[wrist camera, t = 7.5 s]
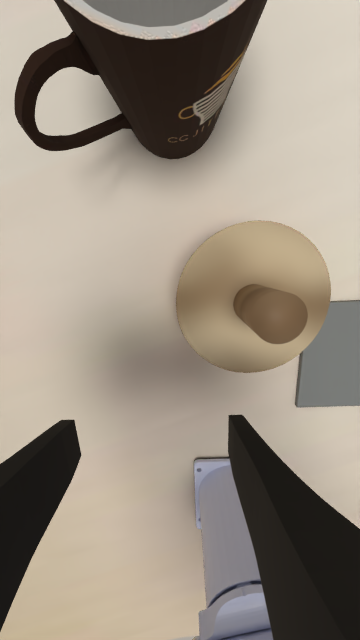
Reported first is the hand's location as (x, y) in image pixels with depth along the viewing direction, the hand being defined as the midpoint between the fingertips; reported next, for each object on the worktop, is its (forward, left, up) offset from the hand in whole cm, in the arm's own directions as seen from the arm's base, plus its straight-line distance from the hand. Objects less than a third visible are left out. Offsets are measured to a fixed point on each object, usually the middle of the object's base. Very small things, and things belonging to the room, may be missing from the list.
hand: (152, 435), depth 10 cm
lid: (+5, -6, -6) cm, 10 cm away
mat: (-1, -17, -10) cm, 20 cm away
